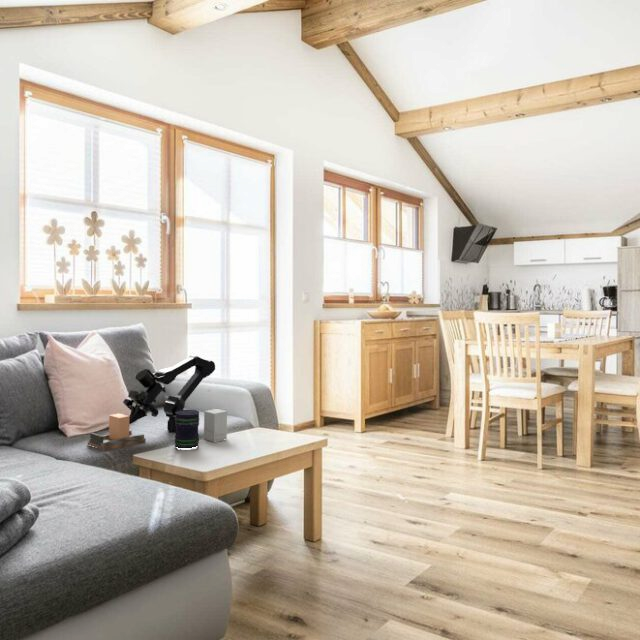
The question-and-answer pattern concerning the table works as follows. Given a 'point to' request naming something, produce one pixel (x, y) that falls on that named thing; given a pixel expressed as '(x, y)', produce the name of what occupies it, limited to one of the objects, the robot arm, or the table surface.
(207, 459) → the table surface
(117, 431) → the terracotta block
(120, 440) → the walnut chute
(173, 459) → the table surface
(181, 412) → the storage jar
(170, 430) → the robot arm
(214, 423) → the supplement box
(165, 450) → the table surface
